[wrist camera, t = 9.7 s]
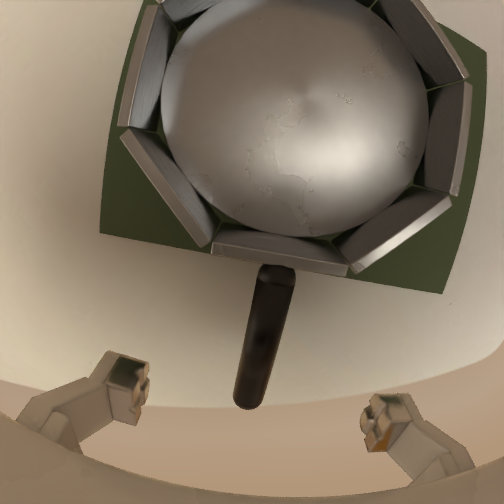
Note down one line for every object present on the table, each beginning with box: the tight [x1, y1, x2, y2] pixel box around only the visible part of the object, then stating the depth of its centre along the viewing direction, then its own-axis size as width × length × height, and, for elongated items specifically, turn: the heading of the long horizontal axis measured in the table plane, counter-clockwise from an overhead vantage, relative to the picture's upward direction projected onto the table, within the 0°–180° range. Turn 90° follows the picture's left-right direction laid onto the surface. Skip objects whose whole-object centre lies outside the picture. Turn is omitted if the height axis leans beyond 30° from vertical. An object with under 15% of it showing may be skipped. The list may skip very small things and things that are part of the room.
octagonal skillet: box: [117, 0, 473, 410], centre depth 11 cm, size 20×13×5 cm, turn 170°
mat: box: [100, 0, 487, 294], centre depth 13 cm, size 20×16×1 cm
